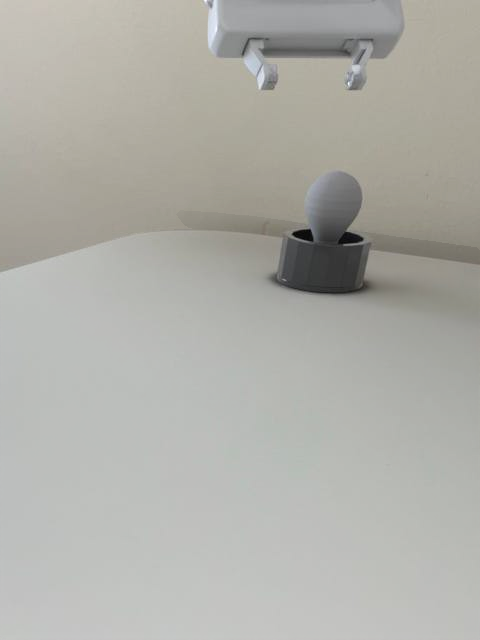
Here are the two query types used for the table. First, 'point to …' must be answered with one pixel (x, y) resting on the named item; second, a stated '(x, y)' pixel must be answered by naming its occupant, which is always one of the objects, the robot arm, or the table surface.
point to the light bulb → (332, 206)
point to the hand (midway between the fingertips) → (312, 86)
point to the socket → (323, 261)
